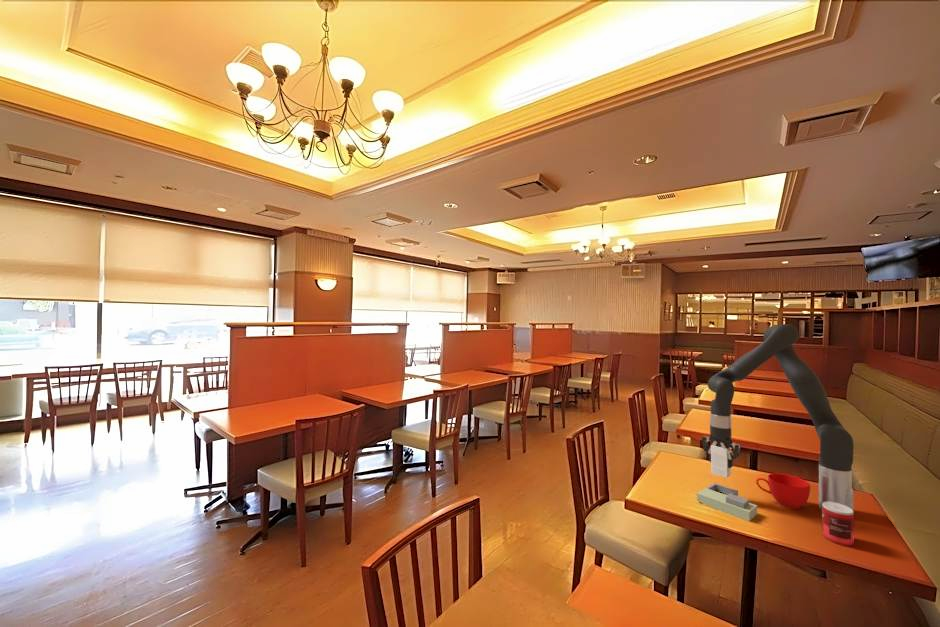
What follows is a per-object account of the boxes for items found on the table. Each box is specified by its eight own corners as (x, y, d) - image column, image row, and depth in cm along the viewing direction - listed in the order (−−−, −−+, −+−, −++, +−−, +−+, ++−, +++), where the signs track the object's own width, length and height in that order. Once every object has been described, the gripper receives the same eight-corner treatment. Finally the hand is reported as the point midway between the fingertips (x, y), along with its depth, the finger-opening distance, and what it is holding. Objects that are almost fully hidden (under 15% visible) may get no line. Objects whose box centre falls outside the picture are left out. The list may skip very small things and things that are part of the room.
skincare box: (730, 475, 159) (730, 447, 158) (727, 478, 156) (727, 449, 156) (714, 471, 163) (714, 443, 163) (710, 473, 161) (710, 445, 161)
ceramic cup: (754, 492, 164) (754, 468, 164) (805, 502, 155) (805, 477, 155) (758, 505, 153) (758, 480, 153) (814, 516, 144) (814, 490, 144)
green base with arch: (765, 507, 151) (765, 493, 151) (749, 521, 141) (749, 506, 141) (714, 489, 166) (714, 477, 166) (695, 501, 156) (695, 488, 156)
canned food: (836, 532, 134) (836, 501, 134) (861, 546, 126) (860, 513, 126) (815, 532, 133) (815, 501, 133) (838, 546, 125) (838, 513, 125)
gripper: (744, 427, 156) (744, 468, 156) (705, 419, 167) (706, 457, 168) (736, 430, 151) (736, 473, 152) (698, 422, 163) (698, 461, 163)
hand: (720, 464), depth 160 cm, fingers closed on skincare box, 6 cm apart
